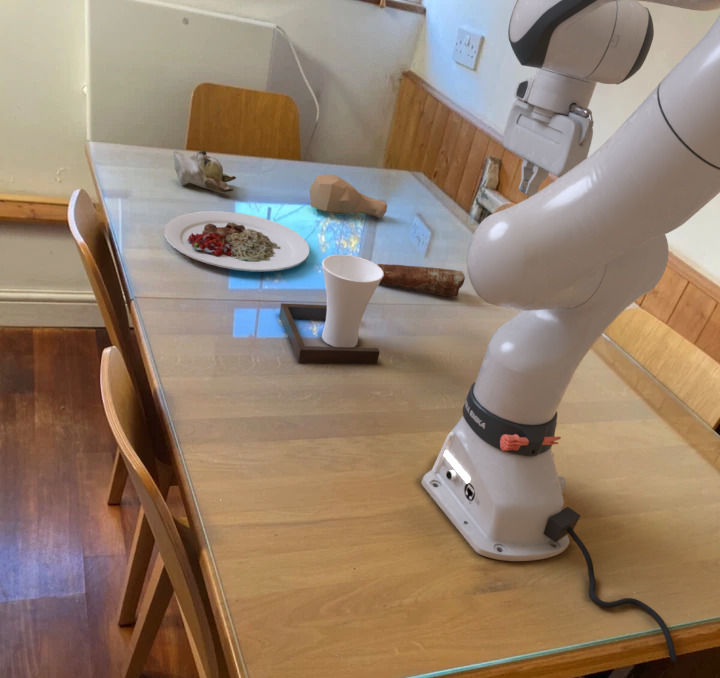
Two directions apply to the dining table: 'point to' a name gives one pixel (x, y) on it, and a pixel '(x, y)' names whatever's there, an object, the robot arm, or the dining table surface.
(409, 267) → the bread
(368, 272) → the cup
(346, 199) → the tan chicken drumstick
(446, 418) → the dining table surface
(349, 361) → the dark brown flat frame
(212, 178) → the ceramic sculpture
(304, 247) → the plated food
